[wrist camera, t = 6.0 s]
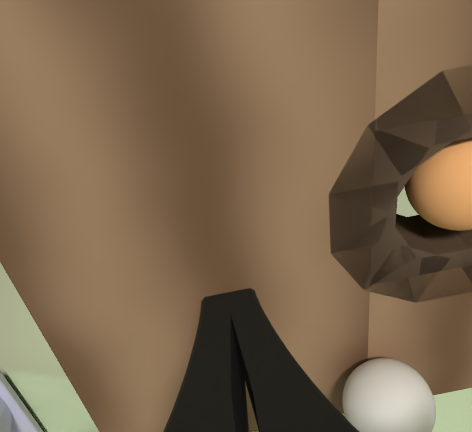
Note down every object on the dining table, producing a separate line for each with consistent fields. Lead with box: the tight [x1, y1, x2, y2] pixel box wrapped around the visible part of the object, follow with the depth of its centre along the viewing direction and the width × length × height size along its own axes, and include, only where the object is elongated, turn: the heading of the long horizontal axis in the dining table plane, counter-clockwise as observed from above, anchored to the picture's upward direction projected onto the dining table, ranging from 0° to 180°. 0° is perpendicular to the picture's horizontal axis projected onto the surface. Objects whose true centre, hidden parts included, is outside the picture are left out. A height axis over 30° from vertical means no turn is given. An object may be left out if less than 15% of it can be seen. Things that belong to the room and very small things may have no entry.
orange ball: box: [405, 138, 472, 231], centre depth 15 cm, size 4×4×4 cm
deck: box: [0, 0, 472, 432], centre depth 16 cm, size 20×22×2 cm
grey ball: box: [342, 358, 436, 432], centre depth 18 cm, size 4×4×4 cm
